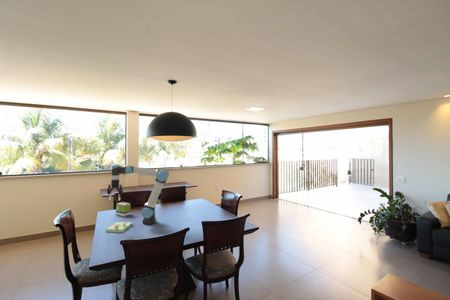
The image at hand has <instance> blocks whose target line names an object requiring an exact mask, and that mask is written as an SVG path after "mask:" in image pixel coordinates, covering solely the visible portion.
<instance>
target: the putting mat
mask: <svg viewBox="0 0 450 300" xmlns="http://www.w3.org/2000/svg"><path fill="white" fill-rule="evenodd" d="M123 223H126V225H125V226H123V225H122V224H123ZM116 225H117V226H118V229H115V226H116ZM133 225H134V224H133V222H130V221H128V222H125V221H117V222H115V223H113V224H112V225H110V226H109V227H107V228H105V233H122V234H123V233H124V232H125V231H127V230H128V229H129V228H130V227H132V226H133Z"/></svg>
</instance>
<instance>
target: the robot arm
mask: <svg viewBox="0 0 450 300" xmlns="http://www.w3.org/2000/svg"><path fill="white" fill-rule="evenodd" d="M120 174H121V175H124V174H125V175H129V174H137V175H144V176H151V177H155V178H154V181H155V184H154V186H153V188H152V191H151V193H150V194H149V195H150V196H149V198H148V200H147V202H145V203H144V206H143V208H142V210H141V212H140V213H141V216H142V218H143V219H142V224H143V225H144V226H145V225H146V226H147V225H154V224H156V223H157V218H156V207H157V206H156V203H157V201H158V199H159V196H160V194H161V192H162V189H163V187H164V185H165V184H166V182H167V180H168V178H169V175H170V173H169V170H166V169H160V168H157V169H154V168H153V169H152V168H147V167H137V166H132V165H127V166H121V165H120V164H112V166H111V183H110V184H108V186H107V191H106V194H107V196H108V201H112V192H113V190H114V189H116V191H117V193H118V198H117V199H118V202H119V201H121V198H122V195H123V194H124V190H123V184H120Z"/></svg>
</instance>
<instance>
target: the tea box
mask: <svg viewBox="0 0 450 300" xmlns="http://www.w3.org/2000/svg"><path fill="white" fill-rule="evenodd" d="M115 215H116V216H121V217H127V216H130V215H131V203H129V202H125V201H121V202H116V206H115Z"/></svg>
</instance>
